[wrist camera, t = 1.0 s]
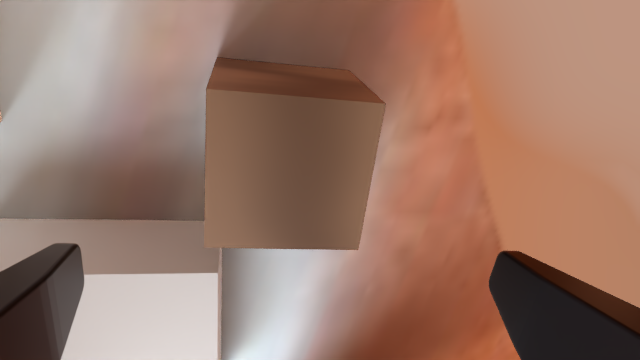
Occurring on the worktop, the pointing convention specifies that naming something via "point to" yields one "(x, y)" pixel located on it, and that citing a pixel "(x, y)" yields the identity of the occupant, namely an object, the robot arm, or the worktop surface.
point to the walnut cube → (287, 156)
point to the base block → (133, 286)
